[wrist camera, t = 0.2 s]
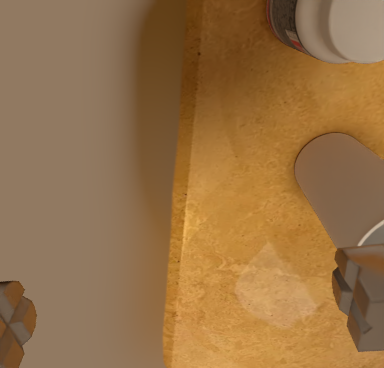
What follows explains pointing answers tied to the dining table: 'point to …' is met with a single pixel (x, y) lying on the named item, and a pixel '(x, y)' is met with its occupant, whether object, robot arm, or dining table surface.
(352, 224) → the mug
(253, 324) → the dining table surface
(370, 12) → the pill bottle
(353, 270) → the robot arm
